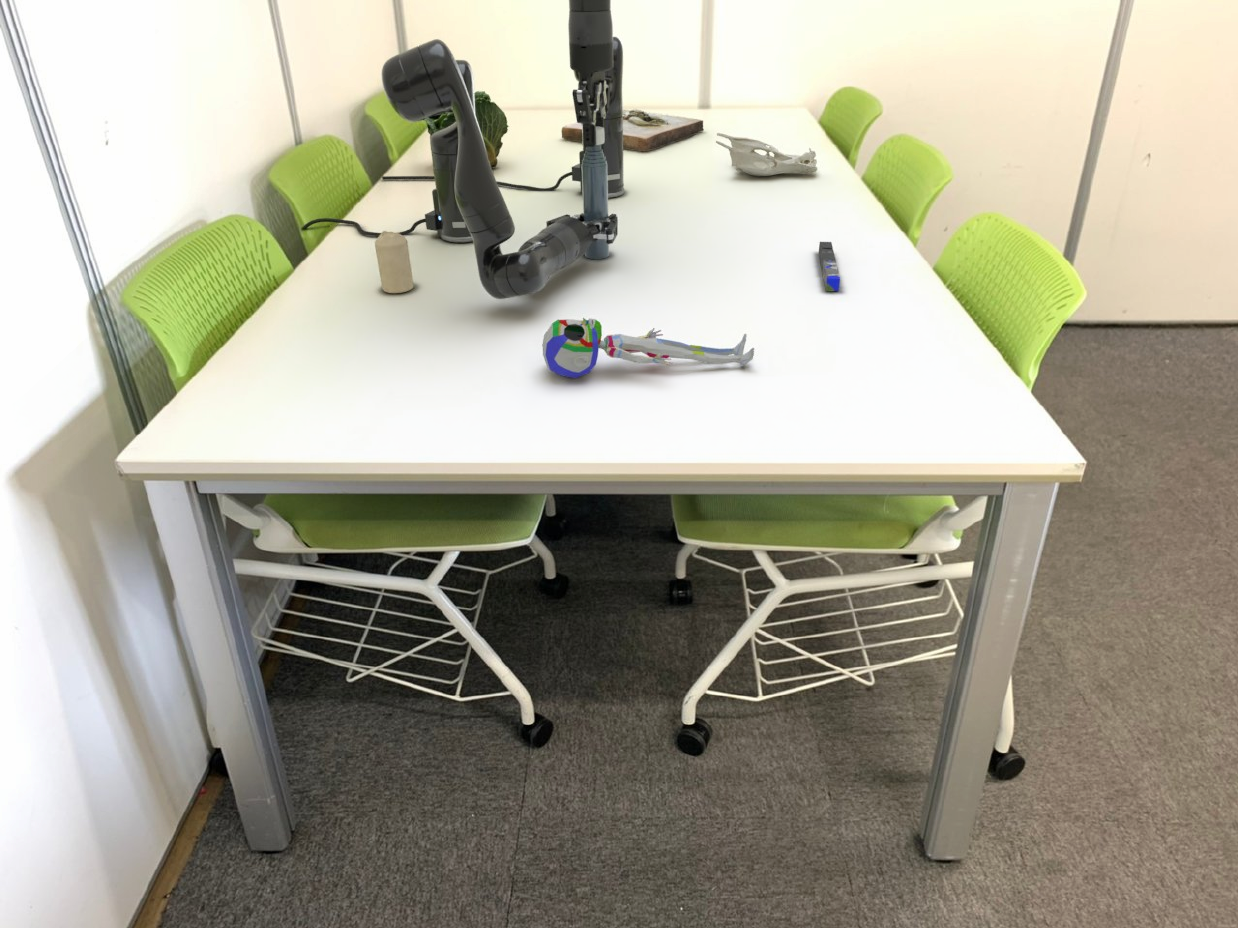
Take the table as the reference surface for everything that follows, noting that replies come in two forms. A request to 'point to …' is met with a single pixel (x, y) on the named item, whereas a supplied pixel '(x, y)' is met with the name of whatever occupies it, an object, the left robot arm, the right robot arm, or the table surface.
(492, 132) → the vegetable
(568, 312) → the table surface
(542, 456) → the table surface
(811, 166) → the anatomical model
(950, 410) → the table surface
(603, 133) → the cap
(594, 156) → the bottle
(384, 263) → the candle
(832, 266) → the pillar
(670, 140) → the plaque
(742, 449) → the table surface
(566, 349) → the toy
